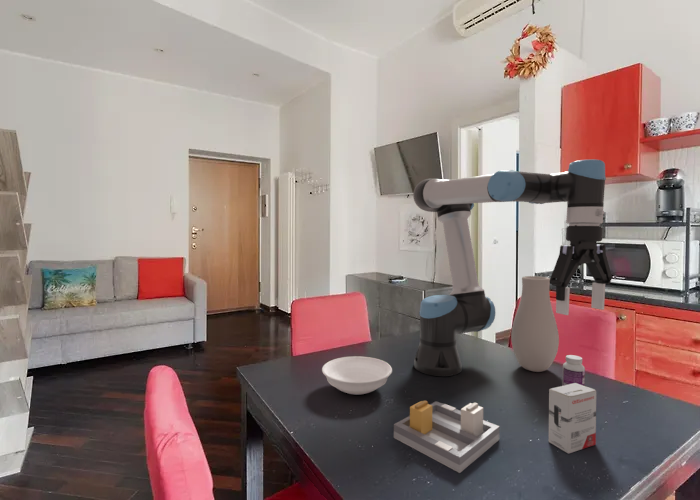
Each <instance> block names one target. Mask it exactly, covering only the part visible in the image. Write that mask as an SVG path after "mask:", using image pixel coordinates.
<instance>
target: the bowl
mask: <svg viewBox="0 0 700 500" xmlns="http://www.w3.org/2000/svg"><path fill="white" fill-rule="evenodd" d="M321 372H322V373H323V375H324V376H325V377H326V380H327V382H328V384H329V385H330V386H332V387H334V388H336V389H337V390H338V391H341V392H343V393H345V394H346V393H347V394H349V395H356V396H357V395H364V394H369V393H372V392H374V391H375V390H378V389H379V388H381V387H383V386H384V385H385V384H386V383H387V381H388V378H389V376H391V374H392V373H393V367H392V366H391V365H390V364H389V363H388V362H387V361H385V360H382V359H379V358H375V357H369V356H356V355H354V356H342V357H338V358H334V359H332V360H329V361H328V362H326V363H324V365H322V368H321Z"/></svg>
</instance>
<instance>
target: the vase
mask: <svg viewBox="0 0 700 500" xmlns="http://www.w3.org/2000/svg"><path fill="white" fill-rule="evenodd" d="M550 278H551V277H546V276H538V275H536V276H535V275H528V276H522V277H521V286H522V287H521V296H520V301H519V305H518V307H517V310H516V313H515V316H514V319H513V323H512V327H511V333H510V335H511V337H510V338H511V339H510V340H511V347H512V350H513V353H514V355H515V358H516V360H517V362H518V364H519V365H520V366H521V367H522V368H523V369H525V370H527V371H529V372H534V373H535V372H536V373H541V372H545V371H547V370H548V369H549V368H550V367H551V366H552V364H553V363H554V361H555V358H556V356H557V354H558V350H559V343H560V337H559V330H558V325H557V321H556V317H555V313H554V310H553V306H552V303H551V297H550V295H551V294H550Z"/></svg>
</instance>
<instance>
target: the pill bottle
mask: <svg viewBox="0 0 700 500" xmlns="http://www.w3.org/2000/svg"><path fill="white" fill-rule="evenodd" d="M585 376H586V367H585V366H584V364H583V357H581V356H579V355H573V354H568V355H566V356H565V362H564V363H563V364H562V385H561V386H564V385H568V384H572V383H577V384H580V385H583V386H585V379H586V377H585Z"/></svg>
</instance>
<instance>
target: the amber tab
mask: <svg viewBox="0 0 700 500" xmlns="http://www.w3.org/2000/svg"><path fill="white" fill-rule="evenodd" d="M430 404H431V403H430ZM430 404H429V402H428V401H427V400H421V401H419V402H417V403H415V404H413V405H411V406H409V416H410V428H412V429H414V430H416V431H418V432H420V433H423V434H426V433H428V432H430V431H431V430H432V405H430Z"/></svg>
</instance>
